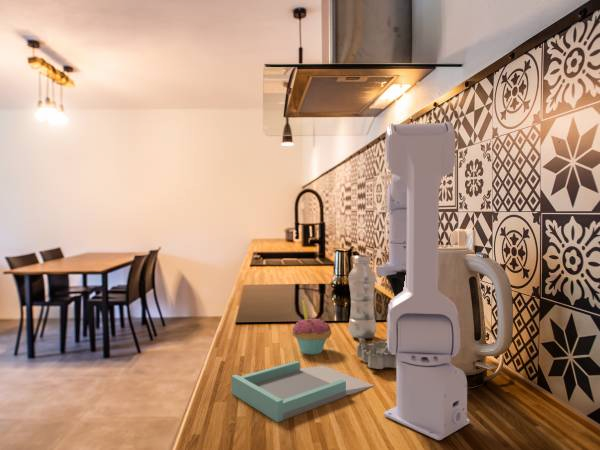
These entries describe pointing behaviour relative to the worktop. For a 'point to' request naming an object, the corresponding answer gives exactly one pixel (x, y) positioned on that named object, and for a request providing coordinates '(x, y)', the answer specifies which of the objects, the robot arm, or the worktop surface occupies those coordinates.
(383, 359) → the egg carton
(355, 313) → the plastic bottle
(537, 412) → the worktop surface
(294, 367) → the dock
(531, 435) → the worktop surface
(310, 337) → the cupcake
